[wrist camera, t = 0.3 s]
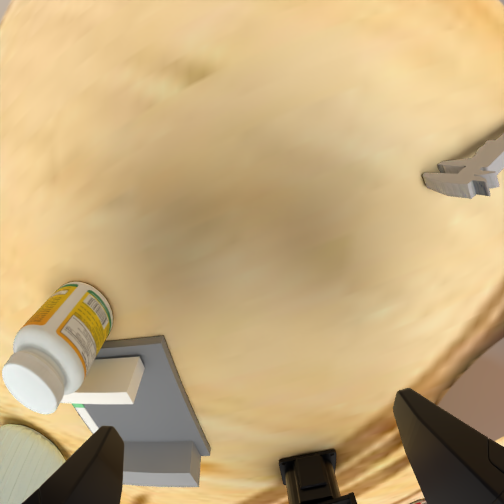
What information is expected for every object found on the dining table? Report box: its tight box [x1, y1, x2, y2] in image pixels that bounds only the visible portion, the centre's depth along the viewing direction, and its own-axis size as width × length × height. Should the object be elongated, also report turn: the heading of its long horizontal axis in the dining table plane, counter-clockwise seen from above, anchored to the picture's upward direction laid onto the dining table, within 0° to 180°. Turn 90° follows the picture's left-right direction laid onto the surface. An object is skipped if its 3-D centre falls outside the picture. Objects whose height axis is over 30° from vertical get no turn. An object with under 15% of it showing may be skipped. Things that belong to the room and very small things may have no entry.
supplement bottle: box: [2, 282, 113, 414], centre depth 18 cm, size 5×5×10 cm
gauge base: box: [72, 336, 210, 487], centre depth 24 cm, size 15×12×5 cm
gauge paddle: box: [60, 357, 145, 404], centre depth 21 cm, size 1×10×4 cm, turn 100°
